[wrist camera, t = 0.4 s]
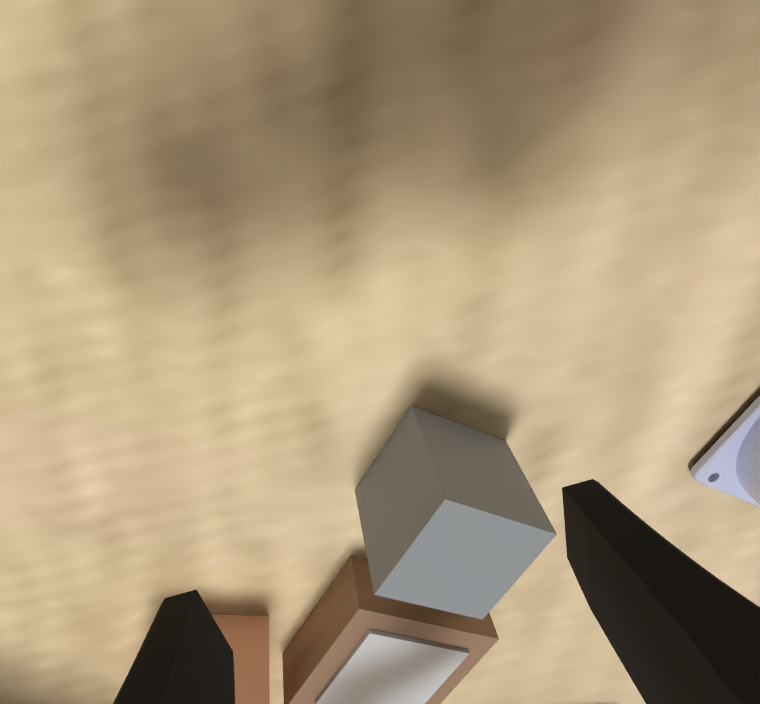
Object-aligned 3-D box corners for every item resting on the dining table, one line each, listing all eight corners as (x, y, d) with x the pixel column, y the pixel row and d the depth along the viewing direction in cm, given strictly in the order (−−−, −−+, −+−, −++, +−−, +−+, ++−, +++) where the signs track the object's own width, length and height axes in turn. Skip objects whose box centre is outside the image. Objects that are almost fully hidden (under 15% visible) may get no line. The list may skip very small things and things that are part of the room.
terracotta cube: (268, 614, 27) (269, 729, 23) (253, 675, 29) (252, 791, 25) (163, 612, 26) (144, 733, 22) (156, 676, 28) (136, 798, 24)
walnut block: (477, 582, 29) (500, 643, 26) (405, 669, 32) (418, 732, 29) (350, 549, 26) (359, 613, 24) (282, 647, 29) (284, 714, 26)
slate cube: (505, 440, 24) (556, 534, 20) (446, 517, 26) (482, 619, 22) (411, 404, 22) (445, 499, 18) (354, 489, 24) (374, 594, 20)
